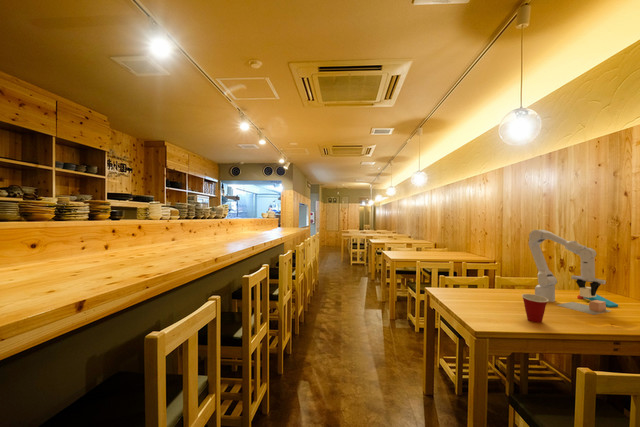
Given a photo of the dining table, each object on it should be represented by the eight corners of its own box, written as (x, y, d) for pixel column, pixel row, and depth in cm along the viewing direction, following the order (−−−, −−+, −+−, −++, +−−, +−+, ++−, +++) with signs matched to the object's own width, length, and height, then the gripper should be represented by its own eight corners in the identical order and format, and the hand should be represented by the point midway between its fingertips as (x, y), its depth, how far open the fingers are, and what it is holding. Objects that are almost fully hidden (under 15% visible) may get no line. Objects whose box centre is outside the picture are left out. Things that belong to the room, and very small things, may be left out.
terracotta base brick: (589, 309, 158) (589, 301, 158) (596, 308, 161) (596, 299, 161) (598, 311, 155) (598, 303, 155) (605, 310, 157) (605, 301, 157)
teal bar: (614, 315, 165) (581, 298, 182) (618, 304, 163) (584, 288, 180) (605, 316, 164) (572, 299, 181) (609, 305, 162) (576, 289, 179)
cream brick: (579, 295, 160) (579, 287, 160) (587, 294, 162) (587, 286, 162) (588, 297, 156) (588, 289, 156) (596, 296, 158) (596, 288, 159)
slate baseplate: (555, 306, 166) (555, 304, 166) (572, 303, 173) (572, 301, 173) (594, 316, 150) (594, 314, 150) (612, 312, 156) (612, 310, 156)
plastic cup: (534, 325, 137) (534, 300, 137) (516, 317, 147) (516, 294, 147) (554, 324, 138) (554, 299, 138) (535, 316, 149) (535, 293, 149)
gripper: (568, 268, 165) (568, 292, 164) (600, 272, 151) (600, 298, 151) (575, 267, 167) (575, 290, 167) (607, 271, 154) (608, 297, 153)
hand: (588, 294), depth 159 cm, fingers closed on cream brick, 4 cm apart
